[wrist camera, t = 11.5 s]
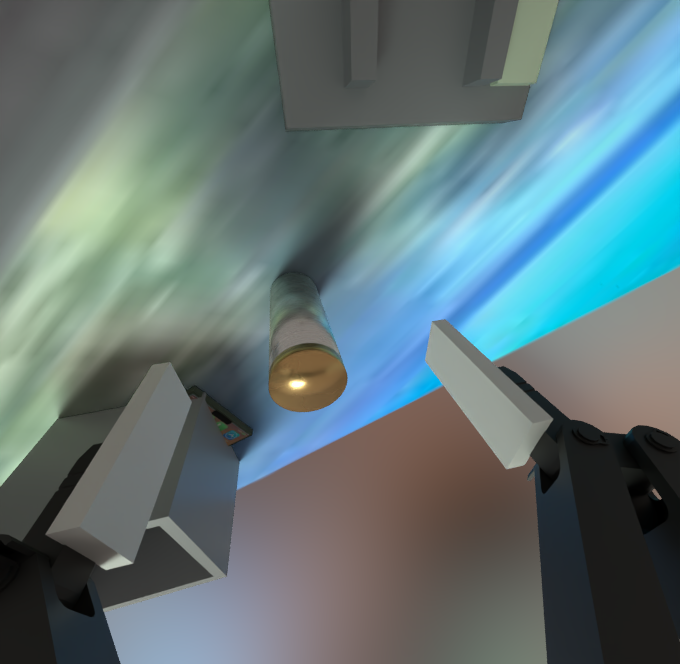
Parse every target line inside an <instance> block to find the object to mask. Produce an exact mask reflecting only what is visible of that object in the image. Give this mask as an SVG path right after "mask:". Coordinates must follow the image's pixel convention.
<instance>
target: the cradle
mask: <svg viewBox="0 0 680 664" xmlns="http://www.w3.org/2000/svg"><path fill="white" fill-rule="evenodd" d="M558 1H559V0H269V6H270V14H271V22H272V29H273V37H274V45H275V52H276V60H277V68H278V75H279V83H280V90H281V98H282V106H283V113H284V121H285V129H286V131H309V130H335V129H360V128H385V127H410V126H436V125H461V124H486V123H505V122H510V121H516V120H521V119H522V115H523V111H524V107H525V103H526V100H527V96H528V92H529V88H530V85H531V84H534V83H536V81H537V78H538V74H539V71H540V67H541V63H542V60H543V56H544V52H545V49H546V45H547V41H548V38H549V34H550V30H551V27H552V23H553V20H554V16H555V12H556V9H557V5H558Z"/></svg>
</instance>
